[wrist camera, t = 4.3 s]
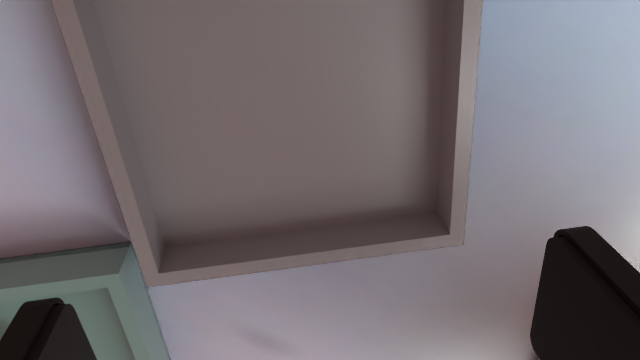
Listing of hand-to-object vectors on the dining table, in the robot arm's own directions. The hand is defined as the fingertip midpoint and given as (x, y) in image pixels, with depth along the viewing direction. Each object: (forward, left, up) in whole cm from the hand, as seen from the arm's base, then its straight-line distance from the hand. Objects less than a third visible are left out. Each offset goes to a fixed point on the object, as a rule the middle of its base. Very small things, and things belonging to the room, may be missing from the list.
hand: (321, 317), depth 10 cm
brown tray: (0, 0, -13) cm, 13 cm away
